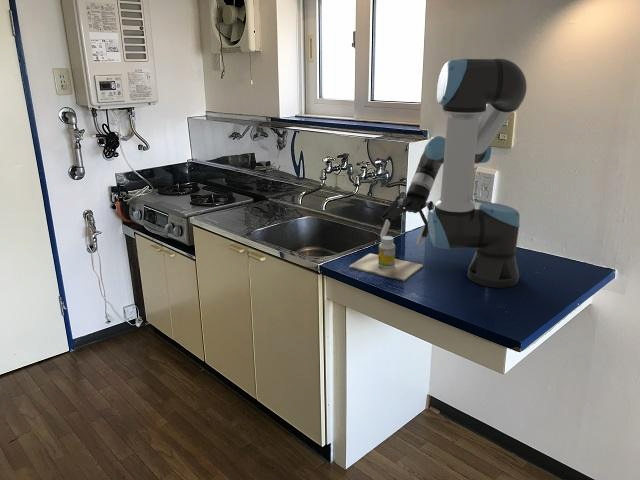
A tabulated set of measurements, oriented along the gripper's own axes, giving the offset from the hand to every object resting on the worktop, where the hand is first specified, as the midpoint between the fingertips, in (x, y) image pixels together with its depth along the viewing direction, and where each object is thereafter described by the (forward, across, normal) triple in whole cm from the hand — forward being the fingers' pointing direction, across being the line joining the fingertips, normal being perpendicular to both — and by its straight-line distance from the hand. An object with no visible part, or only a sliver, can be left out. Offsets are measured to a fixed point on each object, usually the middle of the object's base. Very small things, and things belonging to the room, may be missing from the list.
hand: (399, 241), depth 176 cm
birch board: (+11, 0, +2) cm, 12 cm away
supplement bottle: (+11, 0, +3) cm, 11 cm away
